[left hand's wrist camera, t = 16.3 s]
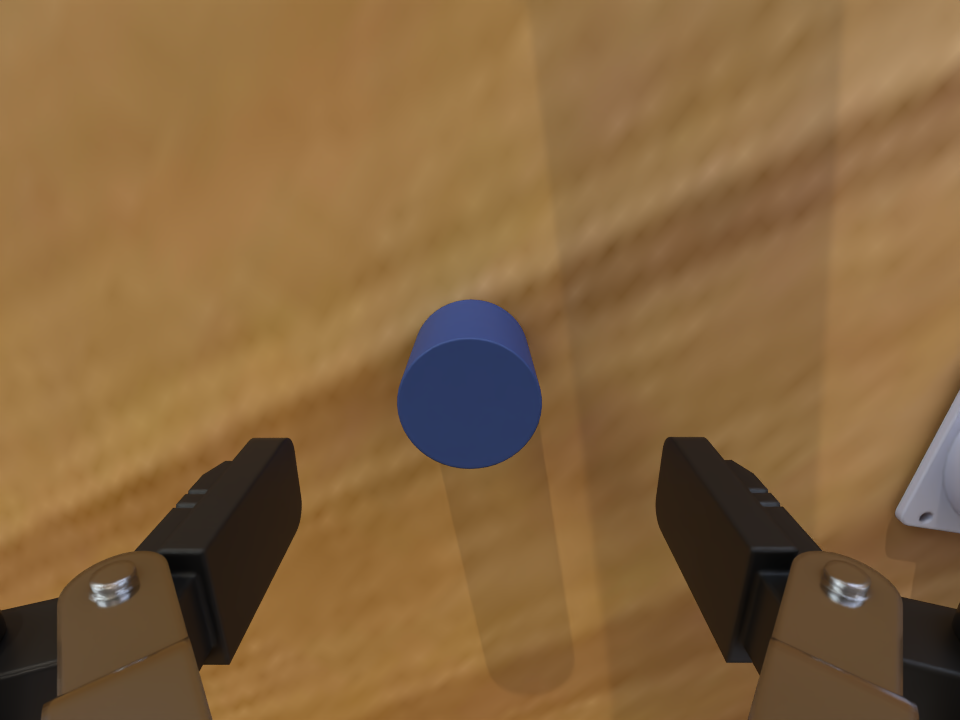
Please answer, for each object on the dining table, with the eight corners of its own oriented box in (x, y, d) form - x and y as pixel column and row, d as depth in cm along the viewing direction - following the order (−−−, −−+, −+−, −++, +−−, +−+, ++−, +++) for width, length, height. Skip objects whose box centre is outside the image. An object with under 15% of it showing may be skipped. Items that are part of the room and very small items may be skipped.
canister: (460, 275, 18) (455, 308, 14) (551, 345, 19) (572, 395, 15) (392, 363, 19) (368, 418, 15) (481, 425, 20) (481, 493, 16)
